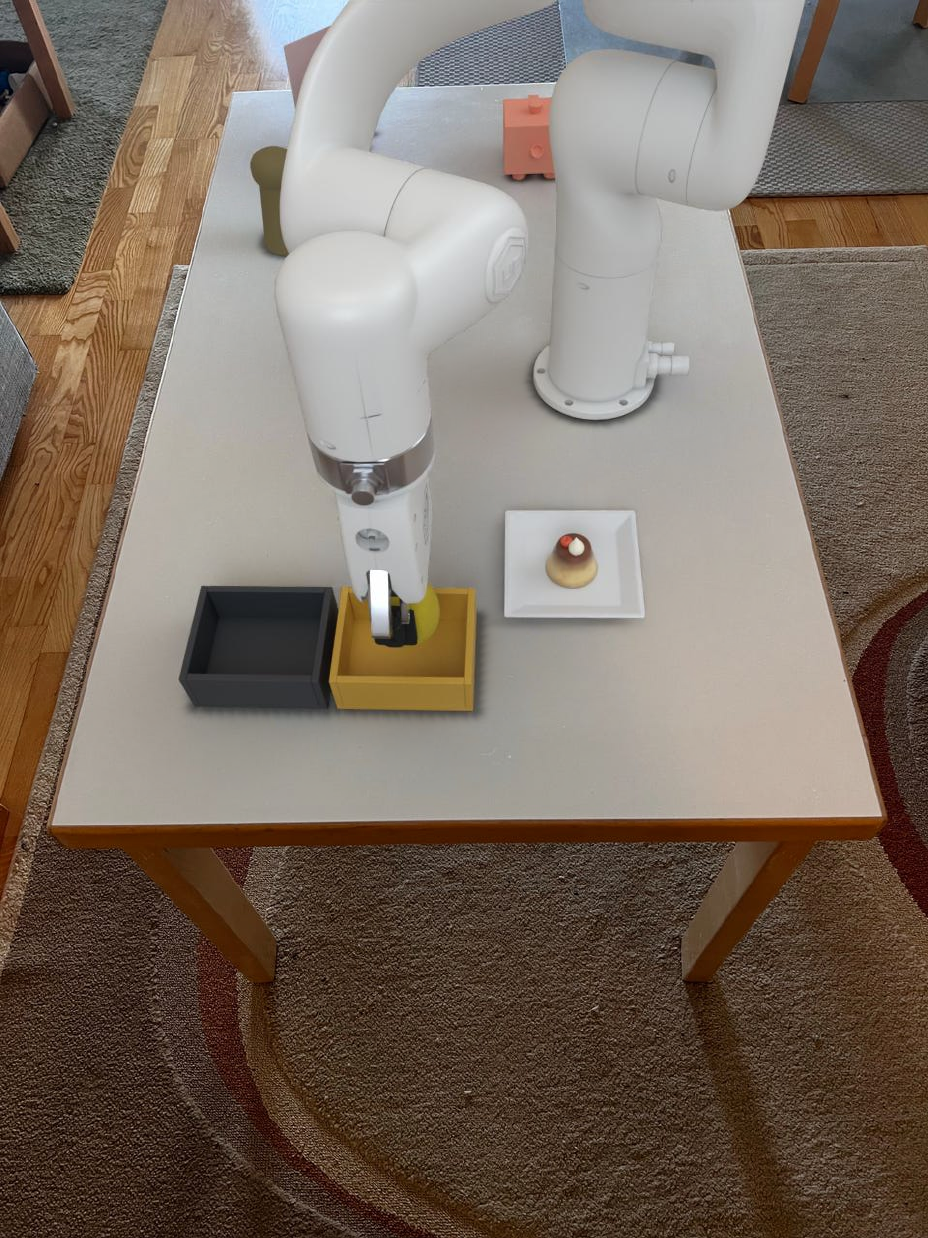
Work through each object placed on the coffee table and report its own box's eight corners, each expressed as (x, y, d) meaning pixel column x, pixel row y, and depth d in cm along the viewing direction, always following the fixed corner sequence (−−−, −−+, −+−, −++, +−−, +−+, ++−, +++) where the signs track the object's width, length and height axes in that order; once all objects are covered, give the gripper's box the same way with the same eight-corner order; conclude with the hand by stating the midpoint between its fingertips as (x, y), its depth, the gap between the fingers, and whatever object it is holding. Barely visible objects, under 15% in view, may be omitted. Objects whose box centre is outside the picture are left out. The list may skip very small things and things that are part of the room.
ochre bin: (476, 617, 79) (475, 587, 76) (473, 711, 74) (471, 683, 71) (349, 616, 80) (341, 586, 76) (337, 709, 75) (328, 681, 71)
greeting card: (368, 132, 125) (353, 10, 112) (403, 152, 122) (392, 29, 109) (302, 165, 121) (279, 43, 108) (336, 187, 117) (316, 64, 105)
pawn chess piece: (305, 257, 109) (287, 169, 100) (258, 253, 110) (236, 165, 101) (320, 228, 113) (303, 140, 103) (273, 224, 113) (253, 136, 104)
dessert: (505, 517, 86) (505, 483, 82) (633, 517, 85) (639, 483, 81) (504, 624, 79) (504, 592, 75) (643, 625, 78) (651, 592, 74)
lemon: (422, 675, 72) (408, 626, 65) (364, 647, 74) (345, 597, 67) (457, 621, 74) (447, 568, 67) (400, 595, 76) (384, 541, 69)
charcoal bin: (340, 616, 80) (332, 586, 76) (327, 709, 75) (318, 681, 71) (215, 615, 81) (201, 585, 77) (194, 706, 75) (178, 679, 72)
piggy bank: (505, 196, 115) (505, 131, 108) (502, 145, 122) (502, 80, 115) (567, 194, 115) (571, 128, 108) (561, 143, 121) (564, 78, 115)
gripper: (424, 550, 50) (442, 706, 65) (440, 345, 60) (453, 522, 75) (291, 549, 51) (339, 704, 66) (328, 346, 60) (363, 522, 75)
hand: (399, 606), depth 70 cm, fingers closed on lemon, 5 cm apart
